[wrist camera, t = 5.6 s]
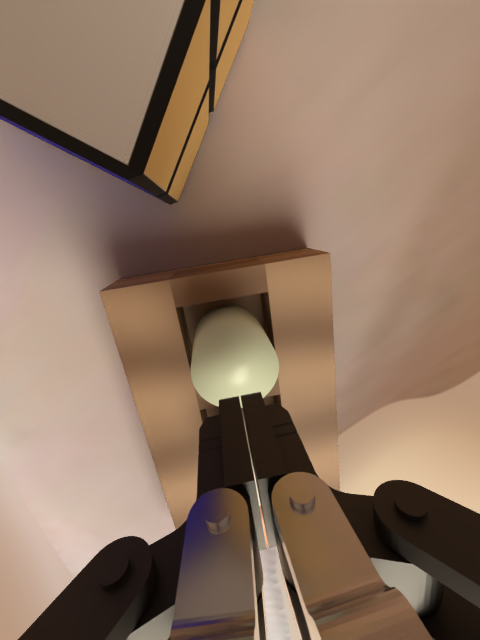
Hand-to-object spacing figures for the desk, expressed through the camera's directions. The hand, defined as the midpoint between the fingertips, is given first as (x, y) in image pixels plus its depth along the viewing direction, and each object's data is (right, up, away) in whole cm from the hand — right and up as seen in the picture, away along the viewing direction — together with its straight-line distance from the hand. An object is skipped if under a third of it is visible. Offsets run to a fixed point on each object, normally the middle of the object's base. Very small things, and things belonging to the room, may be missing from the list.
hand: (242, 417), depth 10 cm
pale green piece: (-1, +2, +7) cm, 7 cm away
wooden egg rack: (0, -3, +11) cm, 12 cm away
